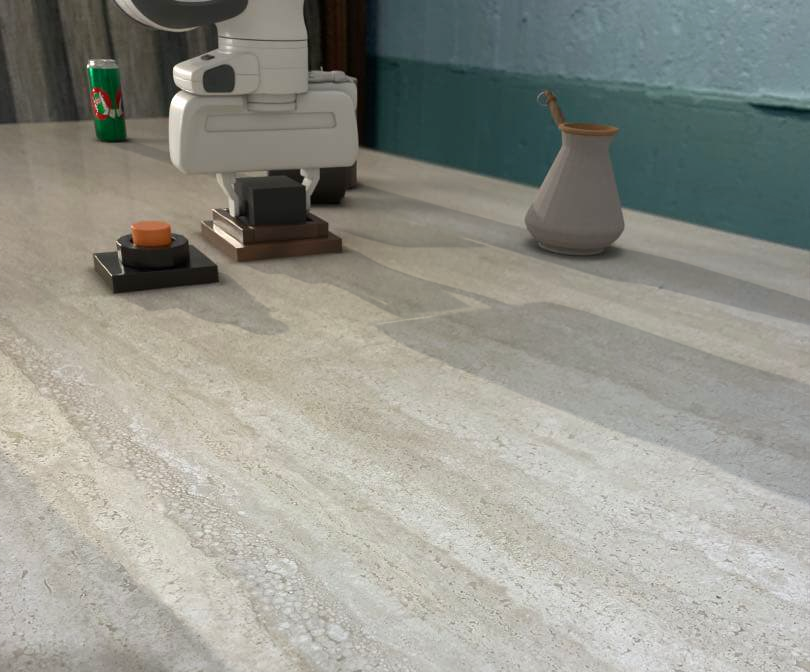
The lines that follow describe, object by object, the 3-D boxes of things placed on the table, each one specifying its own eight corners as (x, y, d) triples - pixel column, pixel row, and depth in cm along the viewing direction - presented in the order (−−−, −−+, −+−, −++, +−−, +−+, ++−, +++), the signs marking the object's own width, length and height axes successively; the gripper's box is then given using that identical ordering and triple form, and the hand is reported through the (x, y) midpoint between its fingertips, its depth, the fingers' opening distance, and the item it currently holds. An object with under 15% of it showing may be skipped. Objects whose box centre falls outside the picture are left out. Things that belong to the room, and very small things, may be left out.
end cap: (269, 207, 111) (266, 150, 107) (266, 195, 117) (264, 141, 113) (346, 208, 113) (346, 152, 109) (340, 196, 119) (340, 142, 115)
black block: (255, 238, 93) (252, 189, 90) (236, 225, 97) (233, 178, 94) (306, 234, 95) (306, 185, 92) (286, 221, 99) (284, 175, 97)
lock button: (138, 250, 81) (136, 231, 80) (129, 241, 84) (126, 222, 83) (176, 247, 82) (175, 228, 82) (166, 238, 85) (164, 219, 84)
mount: (237, 262, 90) (235, 233, 88) (201, 234, 99) (199, 207, 97) (342, 252, 95) (342, 224, 93) (299, 226, 104) (298, 200, 102)
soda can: (119, 137, 151) (110, 58, 144) (132, 141, 148) (123, 61, 141) (91, 138, 148) (80, 59, 141) (104, 143, 145) (93, 62, 138)
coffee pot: (636, 260, 98) (663, 113, 90) (538, 260, 96) (558, 110, 88) (572, 215, 115) (590, 89, 107) (489, 215, 113) (501, 86, 105)
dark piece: (114, 294, 80) (108, 255, 78) (95, 270, 85) (89, 234, 84) (219, 283, 84) (216, 246, 82) (194, 261, 90) (191, 226, 88)
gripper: (344, 67, 94) (343, 200, 102) (156, 67, 86) (171, 213, 93) (370, 73, 90) (367, 212, 97) (175, 74, 81) (188, 227, 89)
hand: (270, 213), depth 95 cm, fingers closed on black block, 6 cm apart
